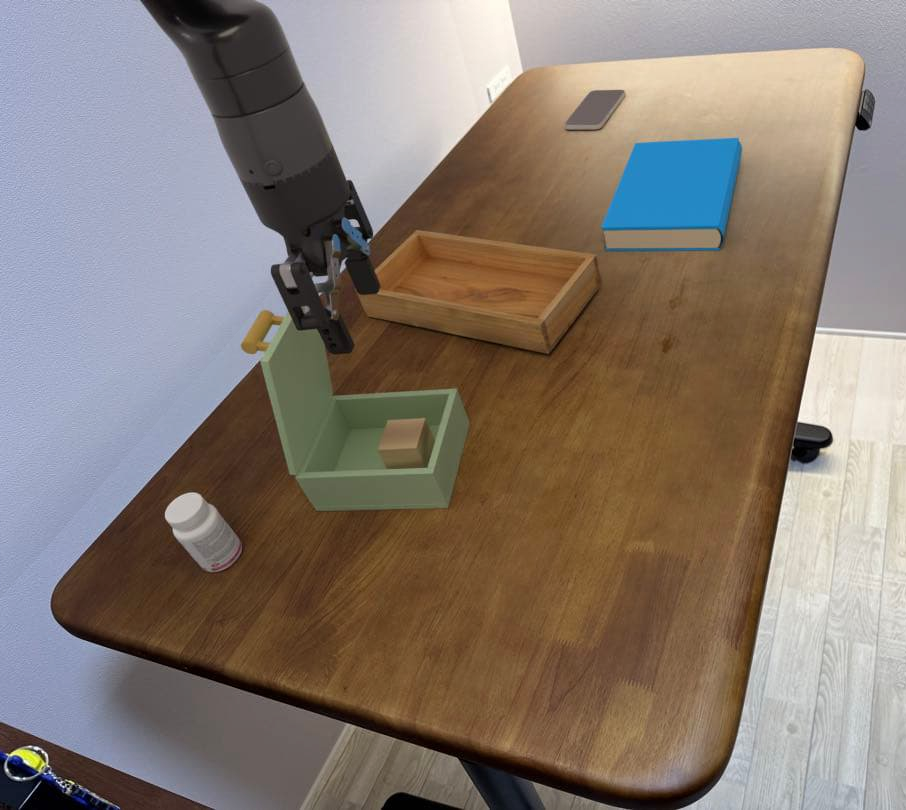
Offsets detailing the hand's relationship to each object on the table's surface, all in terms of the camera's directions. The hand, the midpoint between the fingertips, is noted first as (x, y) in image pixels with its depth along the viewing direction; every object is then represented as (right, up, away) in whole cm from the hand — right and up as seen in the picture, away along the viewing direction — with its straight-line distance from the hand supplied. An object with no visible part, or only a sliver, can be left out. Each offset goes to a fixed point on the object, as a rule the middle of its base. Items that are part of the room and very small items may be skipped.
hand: (357, 320), depth 70 cm
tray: (+8, +6, +39) cm, 40 cm away
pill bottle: (-18, -24, +15) cm, 33 cm away
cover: (-8, -5, +11) cm, 14 cm away
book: (+37, +23, +48) cm, 65 cm away
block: (+2, -14, +18) cm, 23 cm away
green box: (0, -15, +19) cm, 24 cm away
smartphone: (+27, +47, +76) cm, 94 cm away
